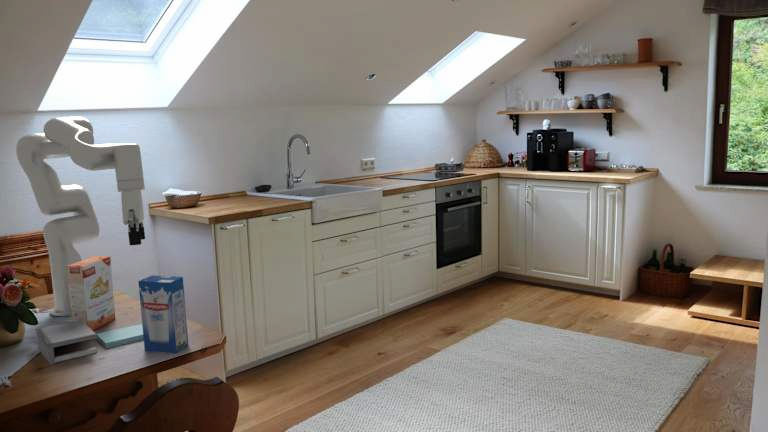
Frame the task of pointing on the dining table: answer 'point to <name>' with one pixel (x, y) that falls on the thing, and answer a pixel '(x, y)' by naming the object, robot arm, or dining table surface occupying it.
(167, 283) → the milk carton
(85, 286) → the cracker box
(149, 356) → the dining table surface
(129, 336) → the tile
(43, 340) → the grey slotted box
